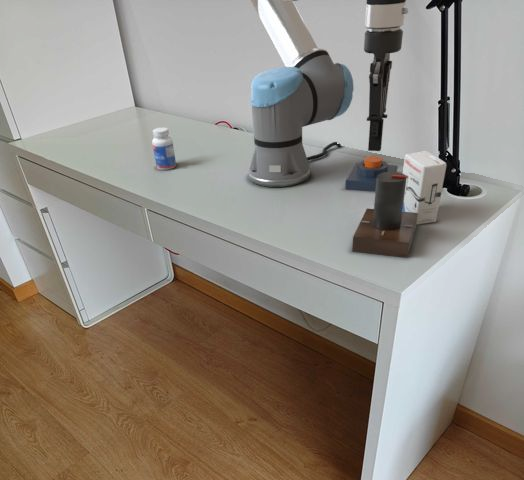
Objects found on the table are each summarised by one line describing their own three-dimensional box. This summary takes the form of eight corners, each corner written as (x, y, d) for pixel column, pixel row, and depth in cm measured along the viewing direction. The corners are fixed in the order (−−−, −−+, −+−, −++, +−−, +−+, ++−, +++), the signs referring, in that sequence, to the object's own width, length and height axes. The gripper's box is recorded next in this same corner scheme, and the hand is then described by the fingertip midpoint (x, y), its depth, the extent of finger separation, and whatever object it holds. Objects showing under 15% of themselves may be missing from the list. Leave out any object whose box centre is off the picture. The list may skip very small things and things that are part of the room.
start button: (366, 163, 119) (366, 155, 118) (382, 164, 118) (383, 156, 117) (362, 168, 116) (363, 161, 115) (379, 169, 115) (380, 162, 114)
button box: (356, 171, 125) (357, 155, 122) (396, 174, 122) (398, 157, 119) (345, 189, 116) (346, 172, 114) (388, 192, 113) (390, 175, 111)
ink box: (396, 209, 106) (403, 152, 99) (418, 205, 107) (426, 149, 99) (414, 225, 99) (423, 166, 92) (437, 222, 100) (448, 162, 93)
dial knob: (370, 228, 93) (374, 179, 87) (375, 217, 97) (379, 169, 91) (398, 231, 91) (404, 181, 85) (402, 219, 95) (408, 171, 89)
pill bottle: (152, 168, 136) (145, 130, 130) (166, 162, 139) (159, 125, 133) (166, 171, 133) (160, 133, 127) (180, 165, 136) (174, 127, 130)
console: (365, 222, 102) (366, 207, 100) (415, 227, 99) (418, 212, 97) (352, 251, 93) (353, 235, 91) (407, 257, 90) (409, 241, 88)
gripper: (398, 33, 94) (386, 160, 109) (407, 24, 103) (395, 142, 118) (358, 34, 96) (352, 158, 111) (371, 25, 105) (363, 140, 120)
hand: (374, 149), depth 114 cm, fingers closed
